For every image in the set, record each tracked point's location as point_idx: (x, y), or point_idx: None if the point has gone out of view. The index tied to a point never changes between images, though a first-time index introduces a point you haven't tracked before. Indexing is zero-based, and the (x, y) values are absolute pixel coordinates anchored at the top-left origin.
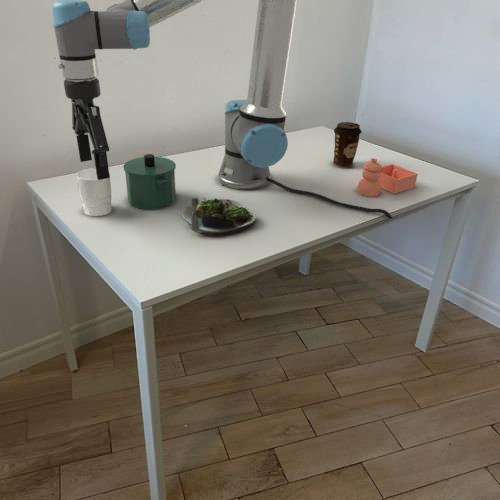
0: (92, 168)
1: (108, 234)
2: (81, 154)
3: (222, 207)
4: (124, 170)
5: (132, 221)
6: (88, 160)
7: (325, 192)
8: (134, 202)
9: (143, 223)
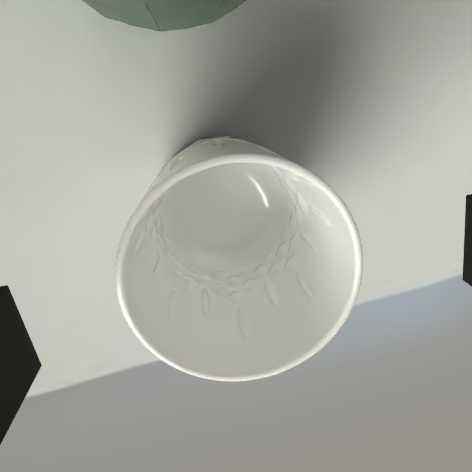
0: (121, 274)
1: (454, 184)
2: (11, 403)
3: None
4: (163, 2)
5: (388, 60)
6: (19, 314)
7: None
8: (238, 3)
9: (431, 10)
